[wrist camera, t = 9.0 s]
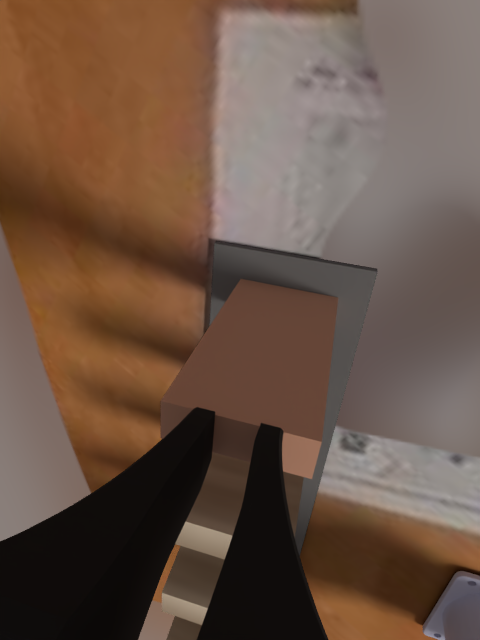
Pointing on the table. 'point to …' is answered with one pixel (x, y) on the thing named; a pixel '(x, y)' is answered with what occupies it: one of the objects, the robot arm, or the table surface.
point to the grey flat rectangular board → (351, 310)
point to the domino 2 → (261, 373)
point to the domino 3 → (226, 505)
